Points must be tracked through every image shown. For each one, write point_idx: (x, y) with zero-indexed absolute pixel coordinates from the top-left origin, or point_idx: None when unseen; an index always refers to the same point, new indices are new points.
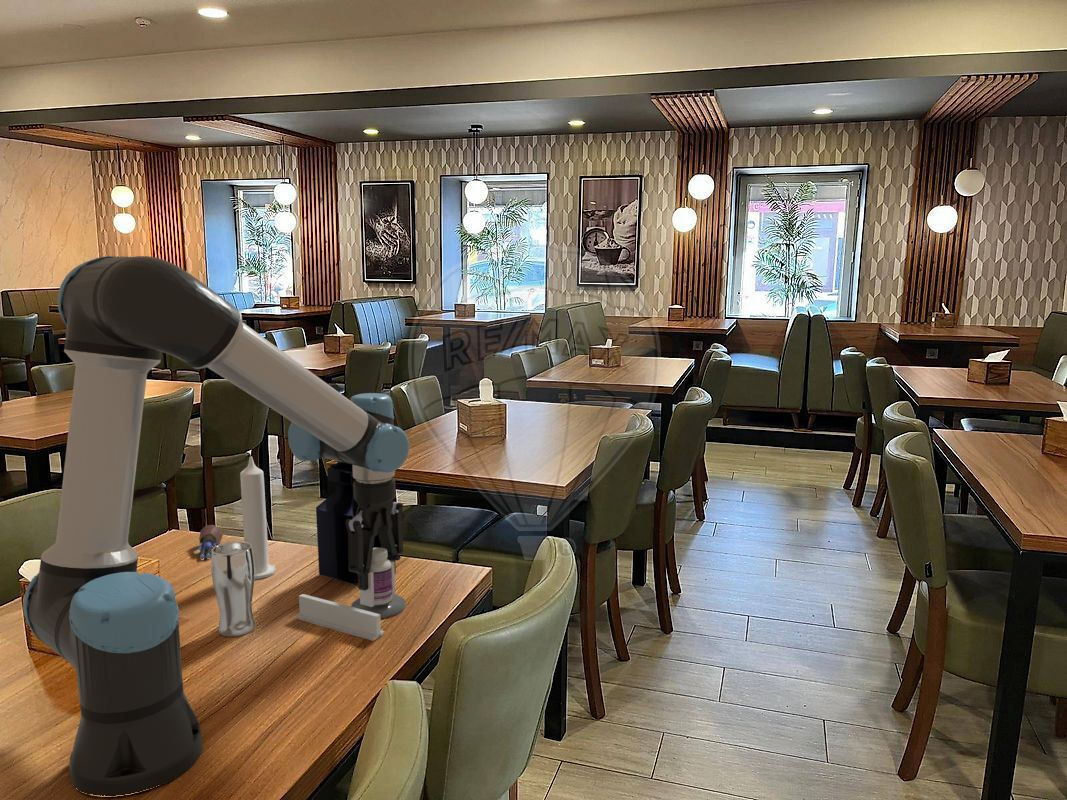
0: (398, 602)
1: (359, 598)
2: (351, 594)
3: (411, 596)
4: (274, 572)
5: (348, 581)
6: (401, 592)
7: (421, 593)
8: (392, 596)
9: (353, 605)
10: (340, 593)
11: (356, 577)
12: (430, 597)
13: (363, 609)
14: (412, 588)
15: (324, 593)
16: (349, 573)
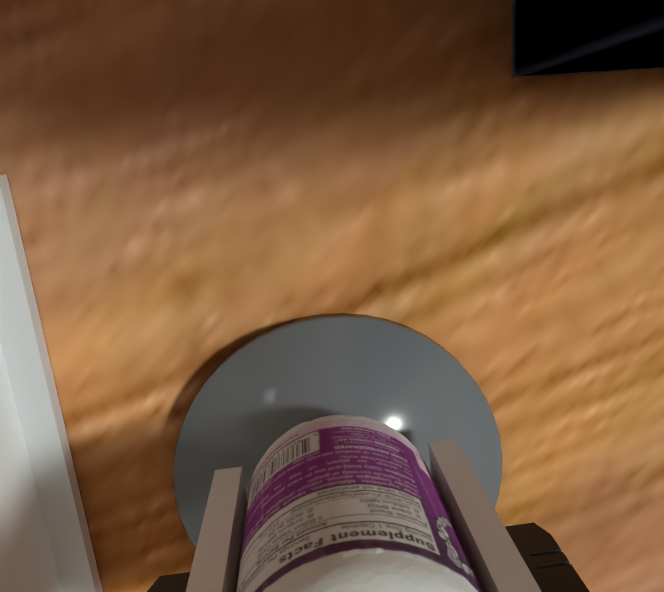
0: None
1: (331, 323)
2: (380, 184)
3: (558, 502)
4: None
5: (517, 2)
6: (574, 418)
7: (621, 516)
8: (470, 462)
9: (234, 373)
10: (349, 106)
11: (548, 70)
12: (601, 588)
13: (233, 463)
14: (654, 428)
15: (281, 4)
16: (543, 1)
